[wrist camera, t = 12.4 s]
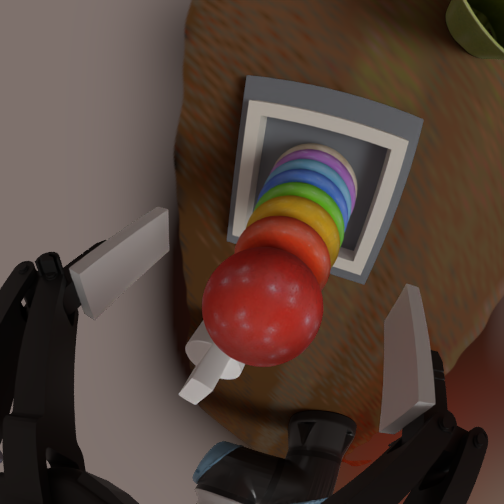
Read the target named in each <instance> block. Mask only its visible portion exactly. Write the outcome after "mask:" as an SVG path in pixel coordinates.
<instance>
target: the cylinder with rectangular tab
mask: <svg viewBox="0 0 504 504" xmlns="http://www.w3.org/2000/svg"><path fill="white" fill-rule="evenodd" d="M185 349H186V353H187V355H188V357H189V359H190V360H191V361H192V362H193V363H194V364H195V365H196V367H195V368H194V370H193V372H192V373H191V375H190V376H189V378H188V380H187V381H186V383H185V384H184V386H183V388H182V389H181V391H180V393H179V395H180V396H181V397H183V398H184V399H185V400H187V401H189V402H191V403H192V404H195V405H196V404H197V403H199V402H200V401H201V400H202V399H203V398H205V397H206V396H207V395H208V394H209V393H211V392H212V391H213V389H214V387H215V386H216V384H217V382H218V380H219V378H221V379H235V378H237V377H239V375H240V374H241V372H242V370H243V368H244V366H245V364H244V363H241V362H238V361H236V360H234V359H232V358H230V357H229V356H228V355H226V354H225V353H224V352H222V351H221V350H220V349H219V348H218V347H217V345H216V344H215V343H214V342H213V340H212V339H211V337H210V335H209V333H208V332H207V330H206V327H205V324H204V320H203V321H202V322H201V324H200V325H199V327H198V328H197V330H196V331H195V333H194V334H193V336H192V337H191V338H190V340H189V341H188V343H187V344H186V348H185Z"/></svg>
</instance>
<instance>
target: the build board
mask: <svg viewBox="0 0 504 504" xmlns="http://www.w3.org/2000/svg"><path fill="white" fill-rule="evenodd" d="M422 124H423V119H421V118H419V117H416V116H414V115H411V114H409V113H406V112H403V111H401V110H398V109H395V108H393V107H390V106H387V105H384V104H381V103H378V102H375V101H372V100H368V99H365V98H362V97H358V96H355V95H351V94H348V93H344V92H340V91H336V90H332V89H328V88H323V87H319V86H314V85H309V84H304V83H299V82H293V81H287V80H281V79H274V78H267V77H259V76H250V75H247V77H246V84H245V91H244V98H243V106H242V113H241V121H240V128H239V136H238V144H237V152H236V161H235V169H234V178H233V187H232V196H231V205H230V214H229V224H228V234H227V241H228V242H232V243H235V244H236V243H237V241H238V239H239V237H240V235H241V234H242V233H243V231H244V230H245V229H246V226H247V223H248V220H249V218H250V216H251V215H252V213H253V211H254V209H255V206H256V204H257V199H258V196H259V194H260V192H261V190H262V188H263V186H264V184H265V182H266V180H267V178H268V177H269V175H270V172H271V170H272V169H273V167H274V165H275V163H276V161H277V160H278V159H279V157H280V156H281V155H282V154H283V153H285V152H286V151H287V150H289V149H291V148H293V147H295V146H298V145H301V144H307V143H316V144H322V145H325V146H328V147H330V148H332V149H334V150H336V151H337V152H339V153H340V154H341V155H342V156H343V157H344V158H345V159H346V160H347V161H348V162H349V164H350V165H351V167H352V169H353V171H354V173H355V176H356V180H357V197H356V201H355V205H354V209H353V211H352V214H351V215H350V218H349V221H348V223H347V227H346V230H345V233H344V238H343V242H342V245H341V247H340V249H339V254H338V257H337V259H336V261H335V263H334V265H333V266H332V268H331V270H330V274H333V275H336V276H339V277H342V278H345V279H348V280H351V281H354V282H358V283H361V284H365V282H366V280H367V278H368V276H369V273H370V271H371V269H372V267H373V265H374V262H375V260H376V258H377V256H378V253H379V251H380V249H381V246H382V244H383V242H384V239H385V237H386V234H387V232H388V229H389V227H390V224H391V222H392V219H393V217H394V214H395V211H396V209H397V206H398V203H399V200H400V198H401V195H402V192H403V189H404V186H405V183H406V180H407V177H408V174H409V171H410V168H411V164H412V161H413V158H414V154H415V151H416V147H417V144H418V140H419V136H420V132H421V128H422Z"/></svg>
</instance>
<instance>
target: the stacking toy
mask: <svg viewBox="0 0 504 504" xmlns="http://www.w3.org/2000/svg"><path fill="white" fill-rule="evenodd" d="M356 197H357V180H356V176H355V173H354V171H353V169H352V167H351V165H350V164H349V162H348V161H347V160H346V159H345V158H344V157H343V156H342V155H341V154H340V153H339V152H337V151H336V150H334V149H332V148H330V147H328V146H325V145H322V144H316V143H307V144H301V145H298V146H295V147H293V148H291V149H289V150H287V151H286V152H285V153H283V154H282V155H281V156H280V157H279V159H278V160H277V161H276V163H275V165H274V167H273V169H272V170H271V172H270V175H269V177H268V178H267V180H266V182H265V184H264V186H263V188H262V190H261V192H260V194H259V196H258V199H257V204H256V206H255V209H254V211H253V213H252V215H251V216H250V218H249V220H248V223H247V226H246V229H245V230H244V231H243V233H242V234H241V235H240V237H239V239H238V241H237V243H236V247H235V254H234V255H232V256H230V257H229V258H227V259H226V260H225V261H224V262H222V263H221V264H220V265H219V266H218V267H217V269H216V270H215V271H214V272H213V273H212V275H211V277H210V278H209V280H208V282H207V285H206V288H205V291H204V294H203V300H202V315H203V320H204V324H205V327H206V330H207V332H208V333H209V335H210V337H211V339H212V340H213V342H214V343H215V344H216V345H217V347H218V348H219V349H220V350H221V351H222V352H224V353H225V354H226V355H228V356H229V357H230V358H232V359H234V360H236V361H238V362H241V363H244V364H247V365H251V366H259V367H268V366H275V365H279V364H282V363H285V362H288V361H290V360H292V359H294V358H295V357H297V356H298V355H300V354H301V353H302V352H303V351H304V350H305V349H306V348H307V347H308V346H309V345H310V343H311V342H312V341H313V339H314V338H315V336H316V334H317V332H318V330H319V328H320V324H321V321H322V315H323V298H322V294H321V290H322V289H323V288H324V286H325V284H326V283H327V281H328V278H329V274H330V270H331V268H332V266H333V265H334V263H335V261H336V259H337V257H338V254H339V249H340V247H341V245H342V242H343V238H344V233H345V230H346V227H347V223H348V221H349V218H350V215H351V214H352V211H353V209H354V205H355V201H356Z"/></svg>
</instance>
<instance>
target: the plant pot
mask: <svg viewBox="0 0 504 504" xmlns="http://www.w3.org/2000/svg"><path fill="white" fill-rule="evenodd" d="M446 24H447V27H448V29H449V31H450V33H451V35H452V37H453V38H454V39H455V41H456V42H458V43H459V44H460V45H461V46H462V47H463V48H464V49H465V50H466V51H467V52H468V53H470V54H471V55H473V56H475V57H478V58H482V59H502V60H504V0H451V2H450V4H449V6H448V8H447V11H446ZM488 28H489V29H490V30H491V33H492V35H493V38H492V36H491V35H490V33H489V30H488Z"/></svg>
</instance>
